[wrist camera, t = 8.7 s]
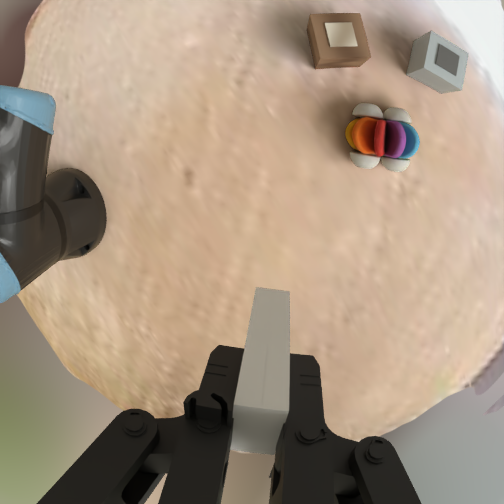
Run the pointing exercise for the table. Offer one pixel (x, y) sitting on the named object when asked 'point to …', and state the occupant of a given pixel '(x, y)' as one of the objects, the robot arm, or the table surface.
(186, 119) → the table surface
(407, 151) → the rainbow segmented toy
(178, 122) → the table surface
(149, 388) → the table surface
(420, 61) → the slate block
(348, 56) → the walnut block
